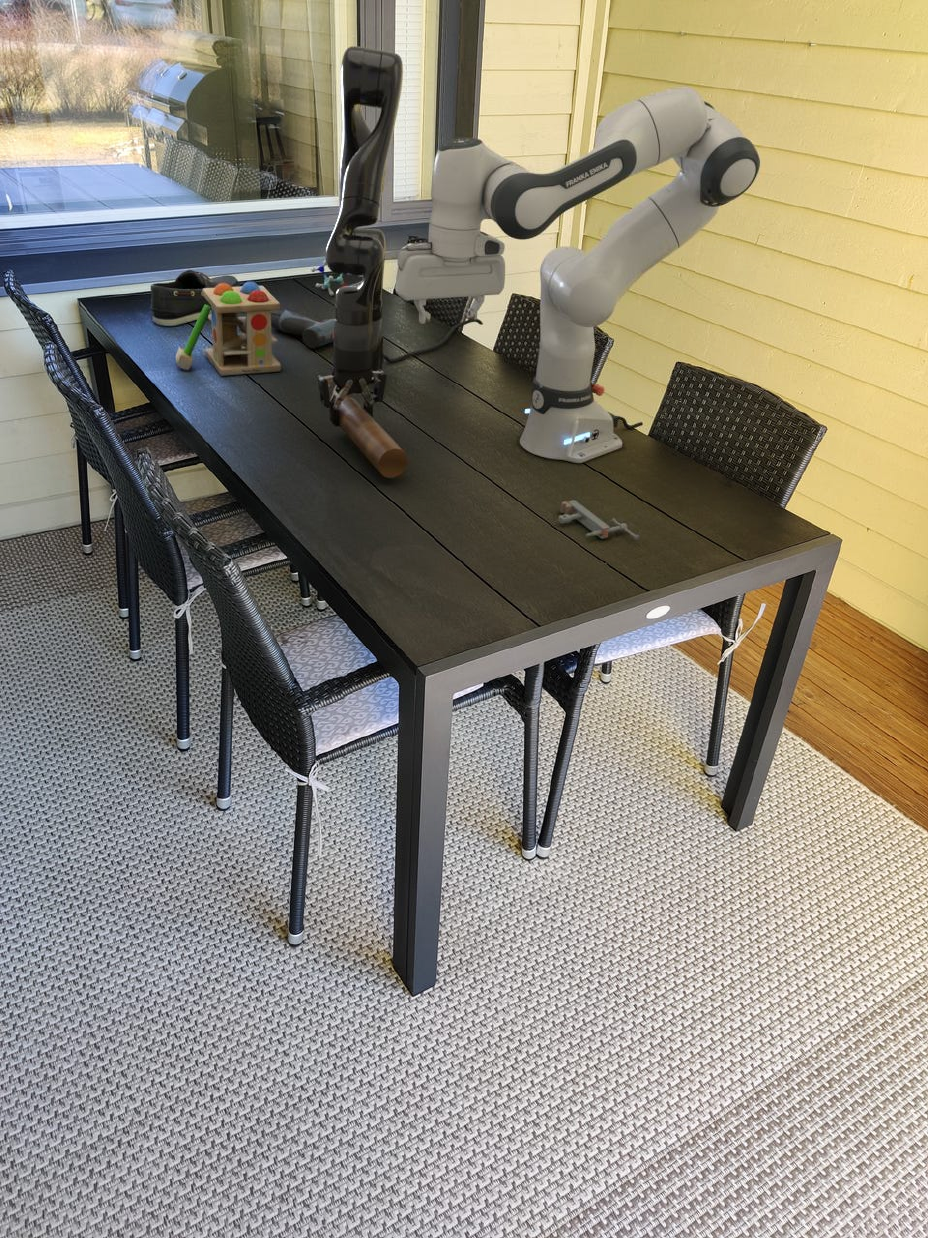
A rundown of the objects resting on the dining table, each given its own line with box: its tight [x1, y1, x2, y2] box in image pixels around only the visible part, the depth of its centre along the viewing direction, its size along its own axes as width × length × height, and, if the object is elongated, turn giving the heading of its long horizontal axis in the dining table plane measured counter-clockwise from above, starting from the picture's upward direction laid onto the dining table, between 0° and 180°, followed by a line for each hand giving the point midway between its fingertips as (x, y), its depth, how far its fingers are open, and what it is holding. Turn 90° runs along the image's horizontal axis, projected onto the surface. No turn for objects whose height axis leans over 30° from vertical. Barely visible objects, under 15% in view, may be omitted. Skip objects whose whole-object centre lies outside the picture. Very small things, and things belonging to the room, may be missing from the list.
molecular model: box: [310, 260, 347, 297], centre depth 283 cm, size 12×10×10 cm
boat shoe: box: [149, 269, 241, 327], centre depth 259 cm, size 13×33×10 cm, turn 147°
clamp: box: [558, 499, 640, 541], centre depth 178 cm, size 15×2×10 cm
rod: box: [338, 396, 409, 479], centre depth 192 cm, size 25×6×6 cm, turn 27°
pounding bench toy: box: [174, 281, 282, 377], centre depth 225 cm, size 23×14×18 cm, turn 116°
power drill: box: [271, 308, 335, 349], centre depth 252 cm, size 5×19×20 cm
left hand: (351, 422), depth 200 cm, fingers closed on rod, 6 cm apart
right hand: (447, 321), depth 177 cm, fingers open, 8 cm apart
